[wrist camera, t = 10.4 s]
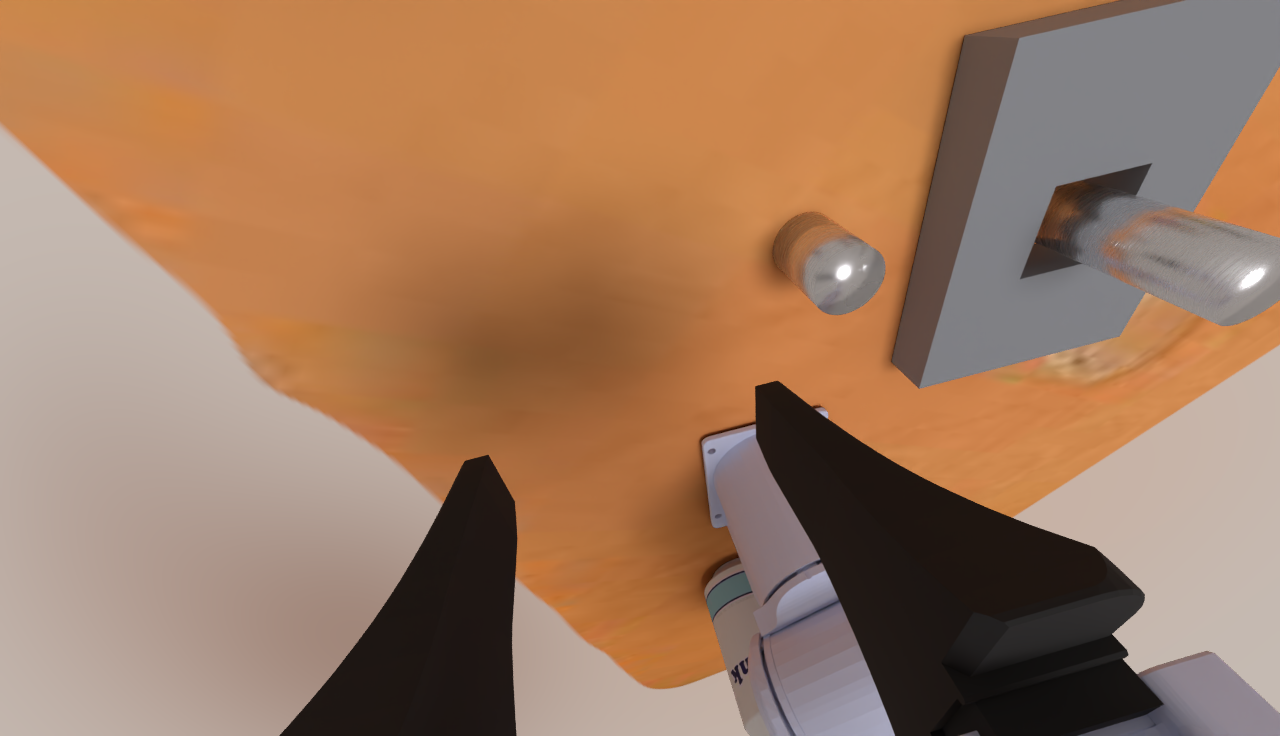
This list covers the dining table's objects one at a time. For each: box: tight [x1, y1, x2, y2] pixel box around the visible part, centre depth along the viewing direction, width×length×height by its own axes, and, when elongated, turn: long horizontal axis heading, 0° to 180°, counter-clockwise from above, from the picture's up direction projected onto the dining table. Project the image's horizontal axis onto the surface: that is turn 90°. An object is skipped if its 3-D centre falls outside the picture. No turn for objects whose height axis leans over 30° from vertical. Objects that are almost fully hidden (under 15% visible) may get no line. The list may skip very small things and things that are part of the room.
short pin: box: [773, 212, 885, 315], centre depth 20 cm, size 3×3×4 cm
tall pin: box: [1035, 180, 1280, 326], centre depth 19 cm, size 3×3×9 cm
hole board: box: [892, 0, 1280, 389], centre depth 22 cm, size 16×12×2 cm
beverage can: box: [704, 558, 770, 736], centre depth 35 cm, size 7×7×12 cm
